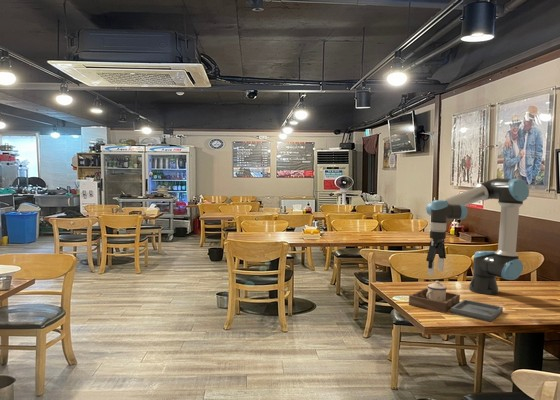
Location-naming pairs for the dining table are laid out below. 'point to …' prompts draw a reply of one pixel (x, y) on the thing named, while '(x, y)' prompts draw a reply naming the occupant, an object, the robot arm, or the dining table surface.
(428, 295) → the teacup with lid
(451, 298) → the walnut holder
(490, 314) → the charcoal tray
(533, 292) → the dining table surface
